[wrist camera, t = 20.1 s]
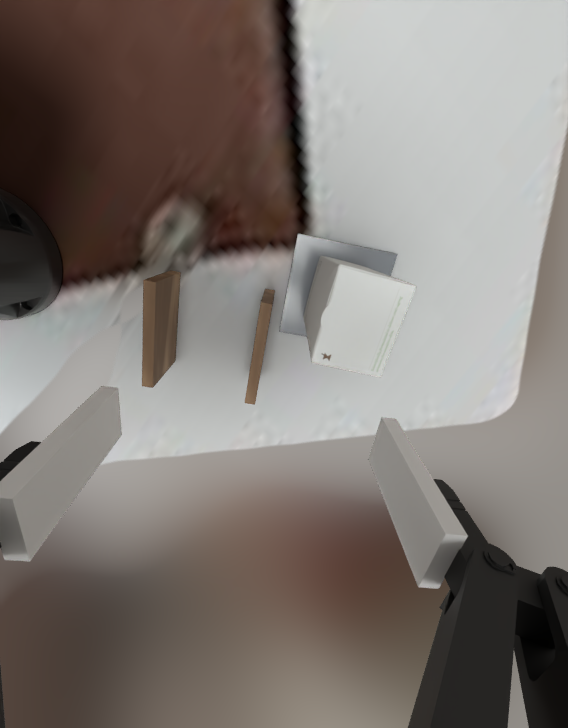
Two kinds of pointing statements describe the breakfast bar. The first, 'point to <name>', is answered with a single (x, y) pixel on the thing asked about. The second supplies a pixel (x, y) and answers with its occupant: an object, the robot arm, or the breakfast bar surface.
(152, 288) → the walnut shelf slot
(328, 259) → the skincare box
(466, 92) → the breakfast bar surface
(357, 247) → the slate coaster
